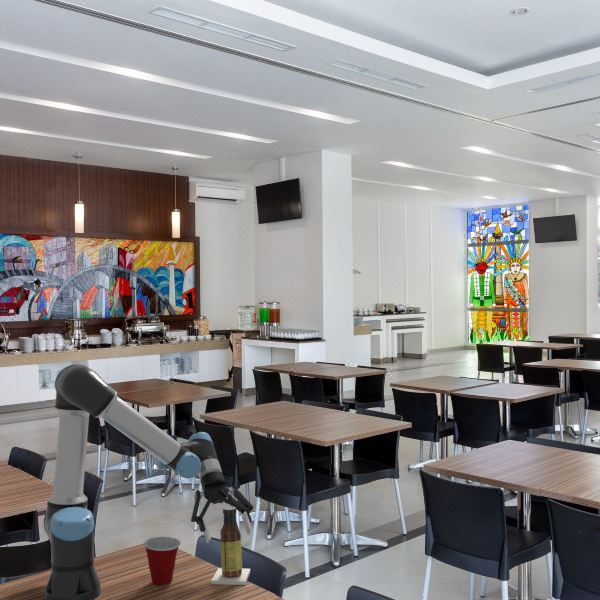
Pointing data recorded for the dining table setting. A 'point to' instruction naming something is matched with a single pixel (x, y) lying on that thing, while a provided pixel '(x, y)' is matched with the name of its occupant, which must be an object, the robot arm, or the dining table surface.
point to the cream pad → (231, 578)
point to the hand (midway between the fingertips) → (229, 536)
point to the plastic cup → (161, 558)
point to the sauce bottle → (230, 544)
